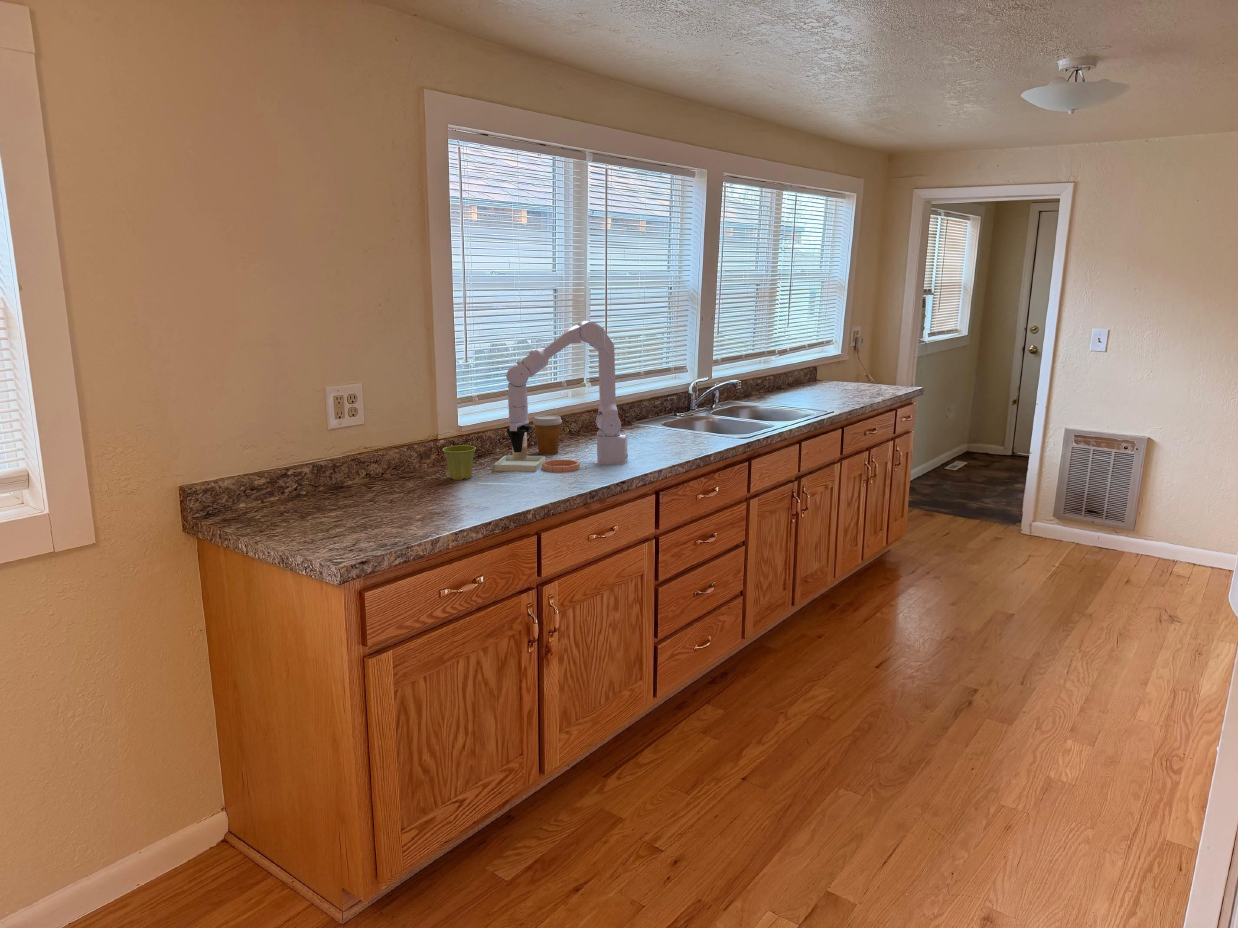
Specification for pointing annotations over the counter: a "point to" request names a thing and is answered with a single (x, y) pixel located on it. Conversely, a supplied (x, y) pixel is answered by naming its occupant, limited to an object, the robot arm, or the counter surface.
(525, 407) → the robot arm
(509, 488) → the counter surface
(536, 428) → the disposable coffee cup
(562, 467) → the terracotta dish
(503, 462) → the grey green tray
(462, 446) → the plant pot
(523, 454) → the birch cylinder
